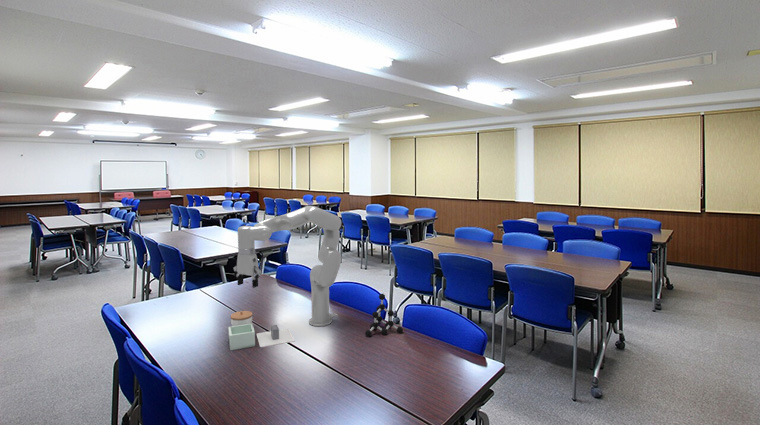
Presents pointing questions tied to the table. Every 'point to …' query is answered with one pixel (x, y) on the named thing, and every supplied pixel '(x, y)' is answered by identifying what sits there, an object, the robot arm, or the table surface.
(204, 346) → the table surface
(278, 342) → the lid
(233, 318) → the lidded jar
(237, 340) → the pale green open bin
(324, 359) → the table surface
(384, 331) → the molecular model
